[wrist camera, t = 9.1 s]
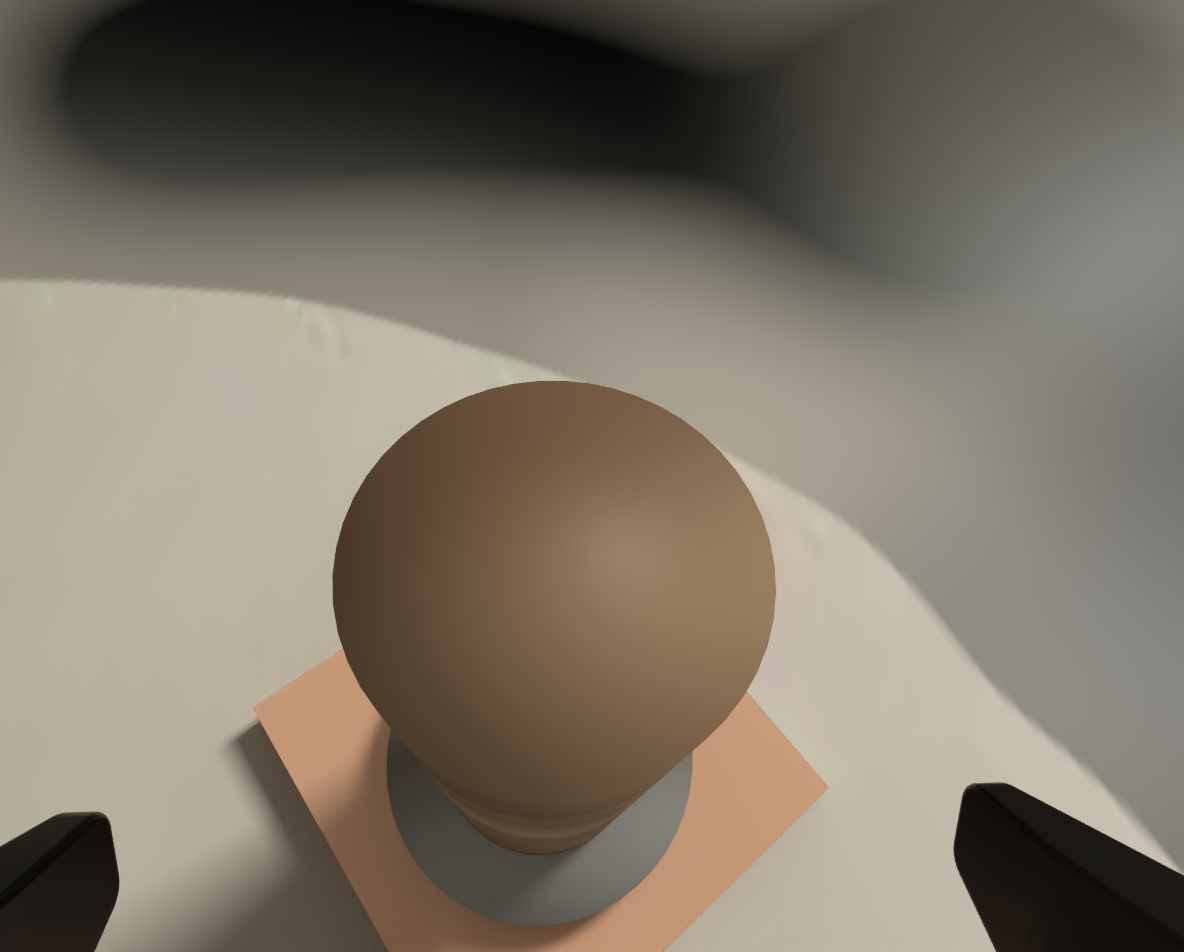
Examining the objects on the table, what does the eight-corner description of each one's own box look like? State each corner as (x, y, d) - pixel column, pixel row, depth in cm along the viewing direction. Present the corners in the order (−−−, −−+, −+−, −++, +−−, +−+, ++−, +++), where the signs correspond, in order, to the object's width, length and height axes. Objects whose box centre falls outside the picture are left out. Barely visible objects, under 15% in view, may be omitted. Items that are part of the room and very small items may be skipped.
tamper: (734, 844, 17) (1053, 767, 7) (441, 983, 15) (259, 1168, 5) (617, 579, 20) (712, 244, 10) (361, 671, 18) (145, 381, 8)
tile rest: (815, 792, 19) (829, 787, 18) (488, 1113, 15) (486, 1126, 14) (576, 510, 22) (578, 494, 21) (265, 716, 19) (252, 707, 18)
